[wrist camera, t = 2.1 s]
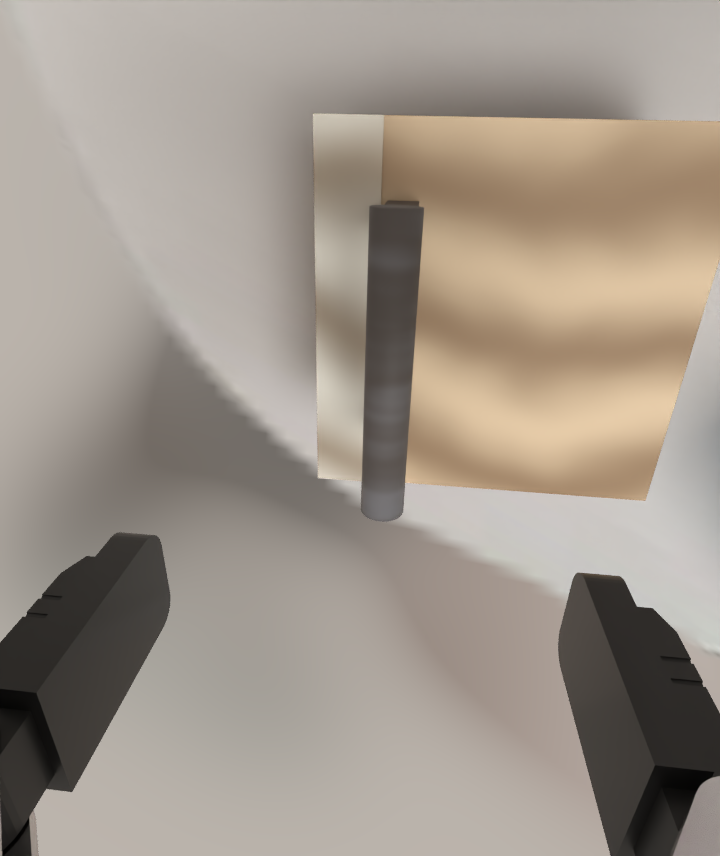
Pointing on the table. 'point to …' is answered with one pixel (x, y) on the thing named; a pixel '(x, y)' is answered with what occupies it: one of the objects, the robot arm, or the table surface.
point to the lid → (506, 298)
